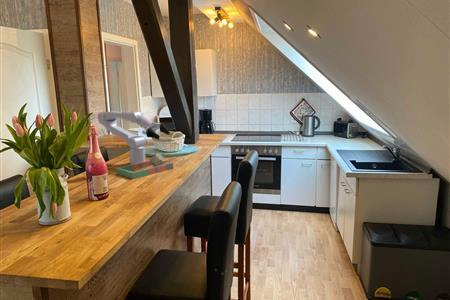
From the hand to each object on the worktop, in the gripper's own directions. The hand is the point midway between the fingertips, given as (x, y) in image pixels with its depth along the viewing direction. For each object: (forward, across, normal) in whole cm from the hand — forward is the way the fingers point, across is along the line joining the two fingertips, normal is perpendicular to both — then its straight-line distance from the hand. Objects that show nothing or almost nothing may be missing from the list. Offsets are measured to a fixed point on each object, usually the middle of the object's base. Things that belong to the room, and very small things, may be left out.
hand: (164, 135), depth 179 cm
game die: (+4, -5, +18) cm, 19 cm away
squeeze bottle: (-12, -34, +19) cm, 41 cm away
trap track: (+2, -13, +16) cm, 21 cm away
